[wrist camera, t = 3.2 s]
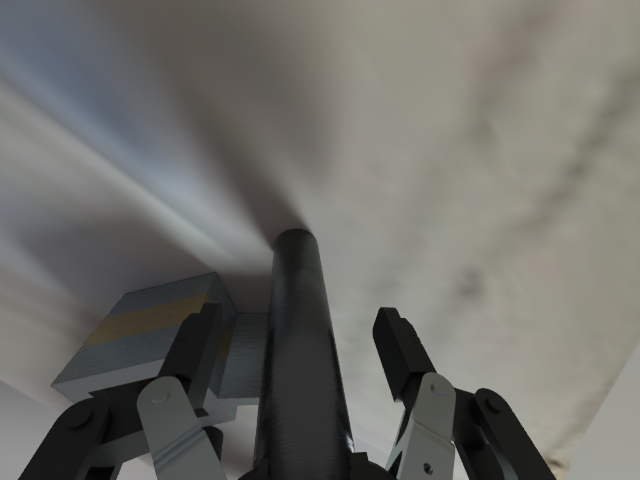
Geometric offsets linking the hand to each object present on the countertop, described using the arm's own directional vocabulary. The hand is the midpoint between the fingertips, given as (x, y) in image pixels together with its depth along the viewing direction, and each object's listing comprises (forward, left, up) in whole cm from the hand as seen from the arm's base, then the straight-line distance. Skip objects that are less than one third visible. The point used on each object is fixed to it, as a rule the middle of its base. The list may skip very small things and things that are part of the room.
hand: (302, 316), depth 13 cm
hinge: (-6, +9, -7) cm, 13 cm away
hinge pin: (0, 0, -7) cm, 7 cm away
